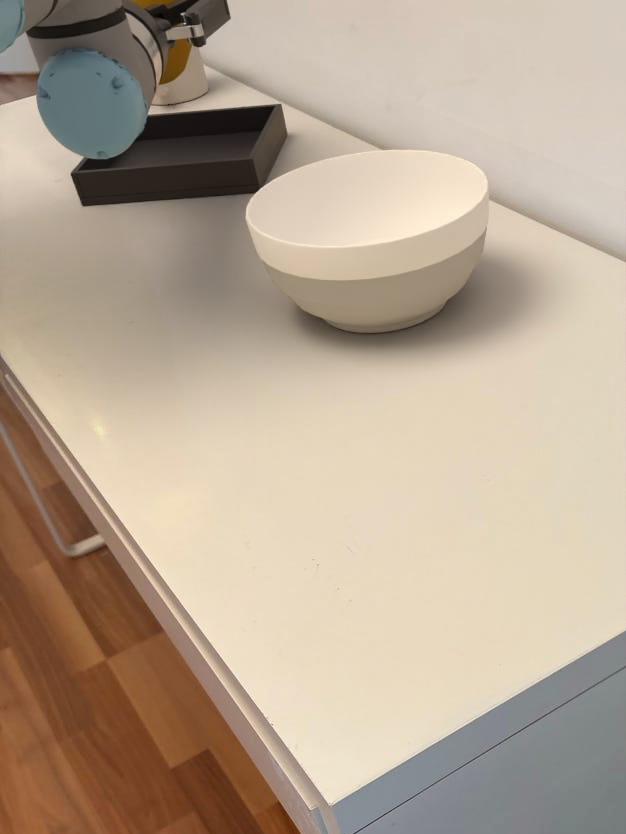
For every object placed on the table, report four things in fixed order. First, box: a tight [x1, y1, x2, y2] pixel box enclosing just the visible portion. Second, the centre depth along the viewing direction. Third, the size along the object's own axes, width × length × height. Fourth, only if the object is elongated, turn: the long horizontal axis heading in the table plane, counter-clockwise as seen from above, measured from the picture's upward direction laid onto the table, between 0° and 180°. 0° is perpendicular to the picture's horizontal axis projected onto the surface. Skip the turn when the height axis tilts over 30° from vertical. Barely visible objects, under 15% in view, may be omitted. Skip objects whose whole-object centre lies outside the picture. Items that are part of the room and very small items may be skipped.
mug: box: [151, 45, 210, 106], centre depth 124 cm, size 11×10×10 cm
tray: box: [69, 103, 288, 207], centre depth 106 cm, size 19×17×3 cm
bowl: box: [245, 149, 490, 334], centre depth 78 cm, size 19×19×9 cm
